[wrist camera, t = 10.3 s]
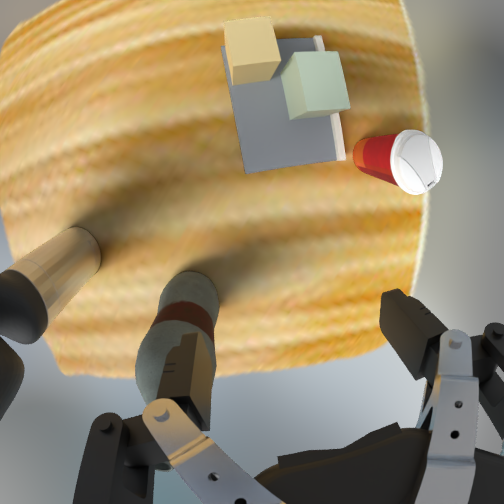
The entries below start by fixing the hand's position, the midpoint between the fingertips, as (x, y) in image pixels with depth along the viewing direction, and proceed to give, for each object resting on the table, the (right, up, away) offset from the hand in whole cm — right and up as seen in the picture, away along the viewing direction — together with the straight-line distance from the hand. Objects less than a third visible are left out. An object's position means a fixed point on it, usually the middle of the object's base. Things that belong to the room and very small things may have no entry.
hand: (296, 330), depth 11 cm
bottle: (-12, -3, +33) cm, 35 cm away
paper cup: (+16, +18, +27) cm, 36 cm away
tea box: (+5, +25, +21) cm, 33 cm away
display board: (+2, +24, +23) cm, 34 cm away
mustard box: (-2, +28, +19) cm, 34 cm away
